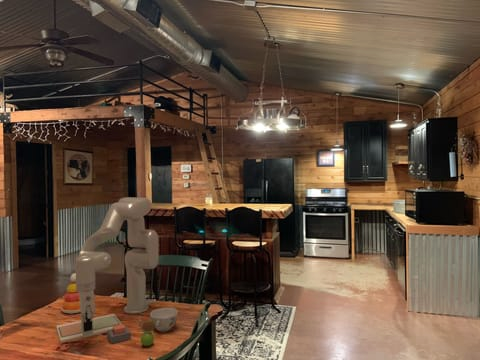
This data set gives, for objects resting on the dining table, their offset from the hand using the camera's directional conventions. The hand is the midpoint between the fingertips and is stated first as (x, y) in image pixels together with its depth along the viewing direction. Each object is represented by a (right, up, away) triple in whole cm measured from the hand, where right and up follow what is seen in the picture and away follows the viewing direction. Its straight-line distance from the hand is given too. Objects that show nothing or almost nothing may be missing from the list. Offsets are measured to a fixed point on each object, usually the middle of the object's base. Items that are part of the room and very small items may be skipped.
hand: (87, 328), depth 149 cm
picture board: (-5, -6, +15) cm, 17 cm away
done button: (+12, -4, +5) cm, 14 cm away
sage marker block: (0, -2, 0) cm, 2 cm away
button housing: (+12, -6, +5) cm, 14 cm away
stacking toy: (-22, -6, +38) cm, 44 cm away
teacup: (+30, -6, +12) cm, 33 cm away
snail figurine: (+26, -7, -2) cm, 27 cm away
